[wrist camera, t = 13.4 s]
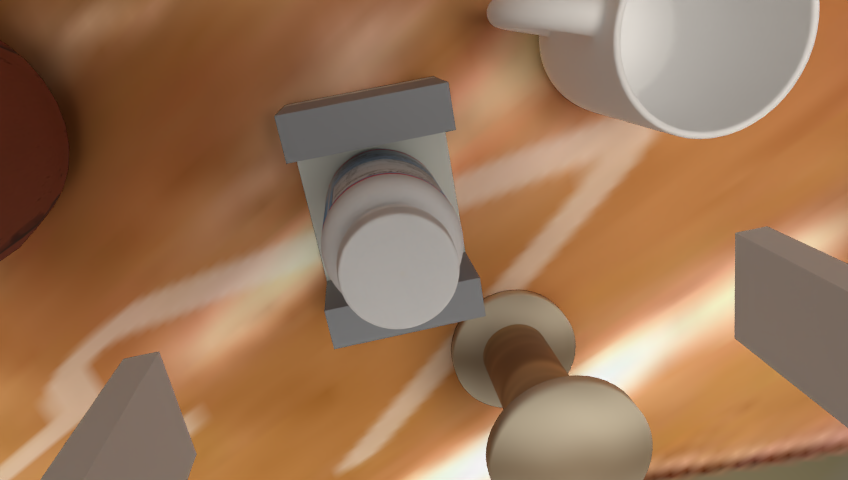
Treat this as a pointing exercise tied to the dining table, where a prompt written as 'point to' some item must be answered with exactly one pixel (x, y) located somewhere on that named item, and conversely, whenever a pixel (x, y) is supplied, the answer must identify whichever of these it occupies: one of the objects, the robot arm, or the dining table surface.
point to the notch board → (364, 130)
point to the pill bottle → (391, 239)
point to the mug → (670, 57)
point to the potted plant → (27, 150)
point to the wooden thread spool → (546, 397)
